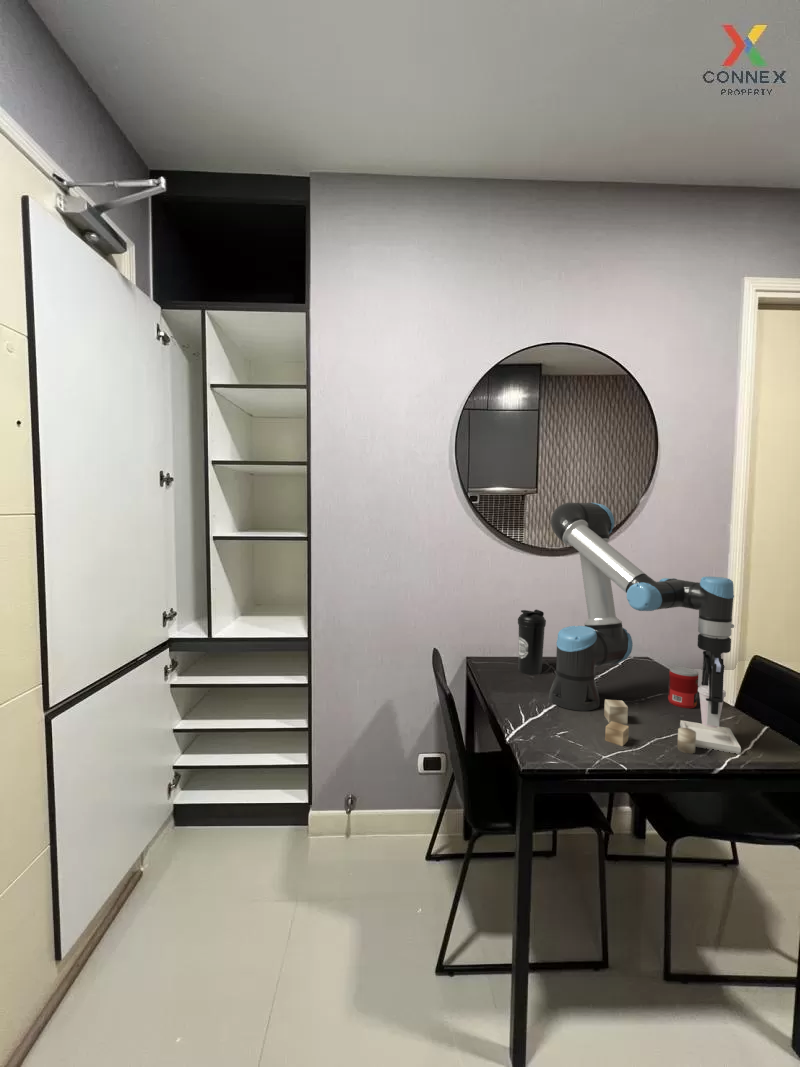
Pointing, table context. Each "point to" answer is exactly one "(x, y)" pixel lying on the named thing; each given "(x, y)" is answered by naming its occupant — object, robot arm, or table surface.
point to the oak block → (616, 733)
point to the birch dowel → (686, 740)
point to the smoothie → (706, 703)
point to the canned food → (683, 687)
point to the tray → (713, 737)
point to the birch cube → (616, 711)
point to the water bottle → (531, 641)
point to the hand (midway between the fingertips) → (710, 719)
